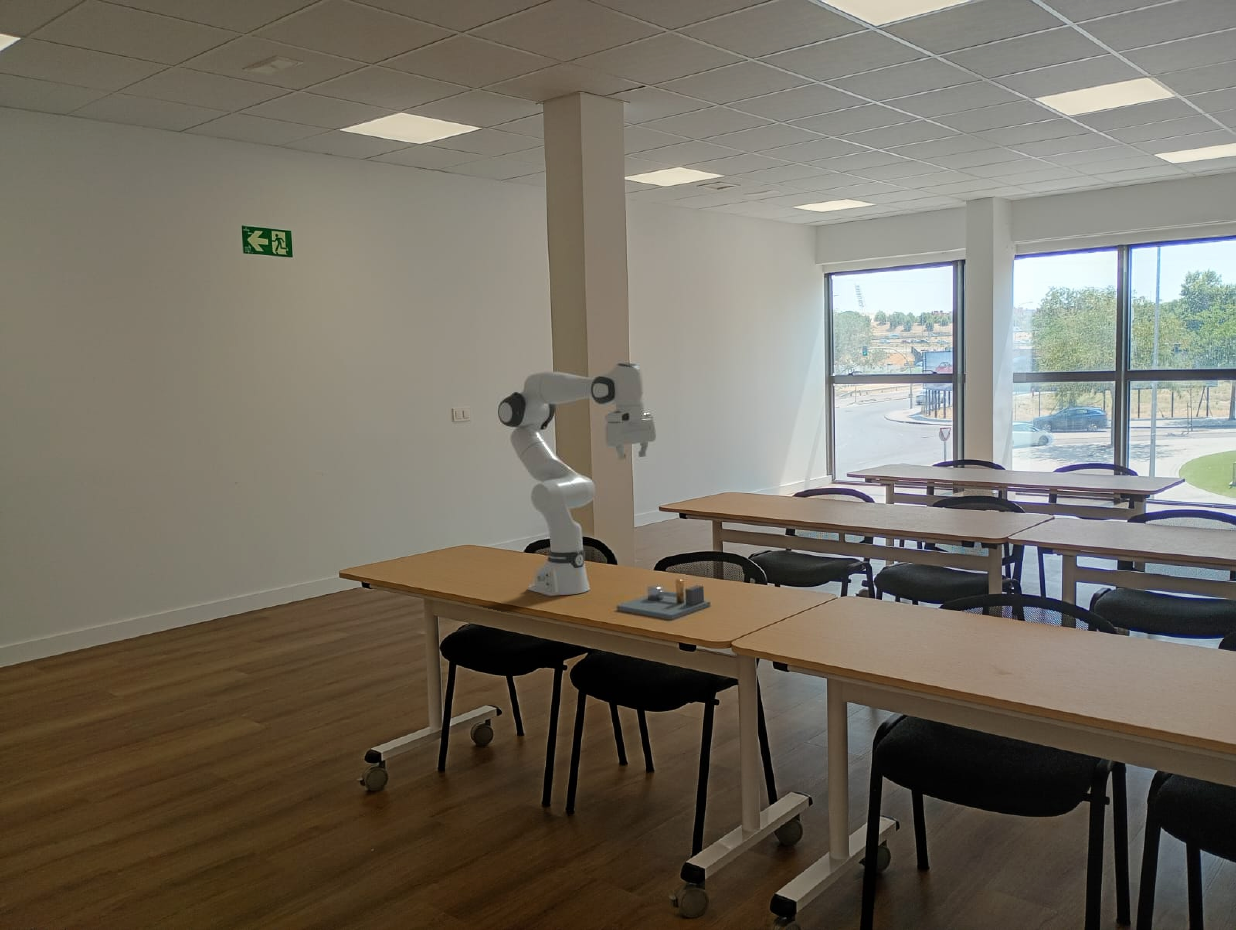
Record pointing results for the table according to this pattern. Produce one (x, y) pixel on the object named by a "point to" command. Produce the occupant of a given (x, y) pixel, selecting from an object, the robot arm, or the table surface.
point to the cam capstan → (667, 592)
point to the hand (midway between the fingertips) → (632, 458)
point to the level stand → (668, 605)
